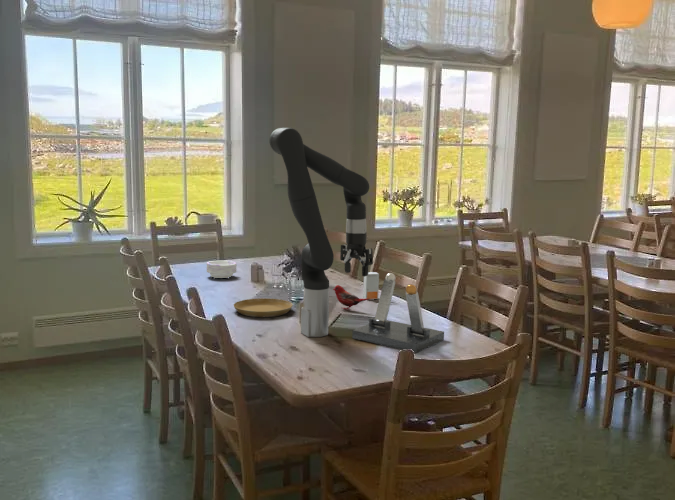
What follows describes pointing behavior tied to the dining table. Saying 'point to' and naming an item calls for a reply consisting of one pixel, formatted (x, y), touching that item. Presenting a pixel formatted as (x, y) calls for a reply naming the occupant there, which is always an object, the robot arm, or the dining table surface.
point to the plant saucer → (263, 307)
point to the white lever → (384, 300)
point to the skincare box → (371, 286)
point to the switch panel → (397, 336)
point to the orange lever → (414, 310)
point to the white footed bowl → (221, 268)
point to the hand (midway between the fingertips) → (356, 274)
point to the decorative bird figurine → (346, 297)
